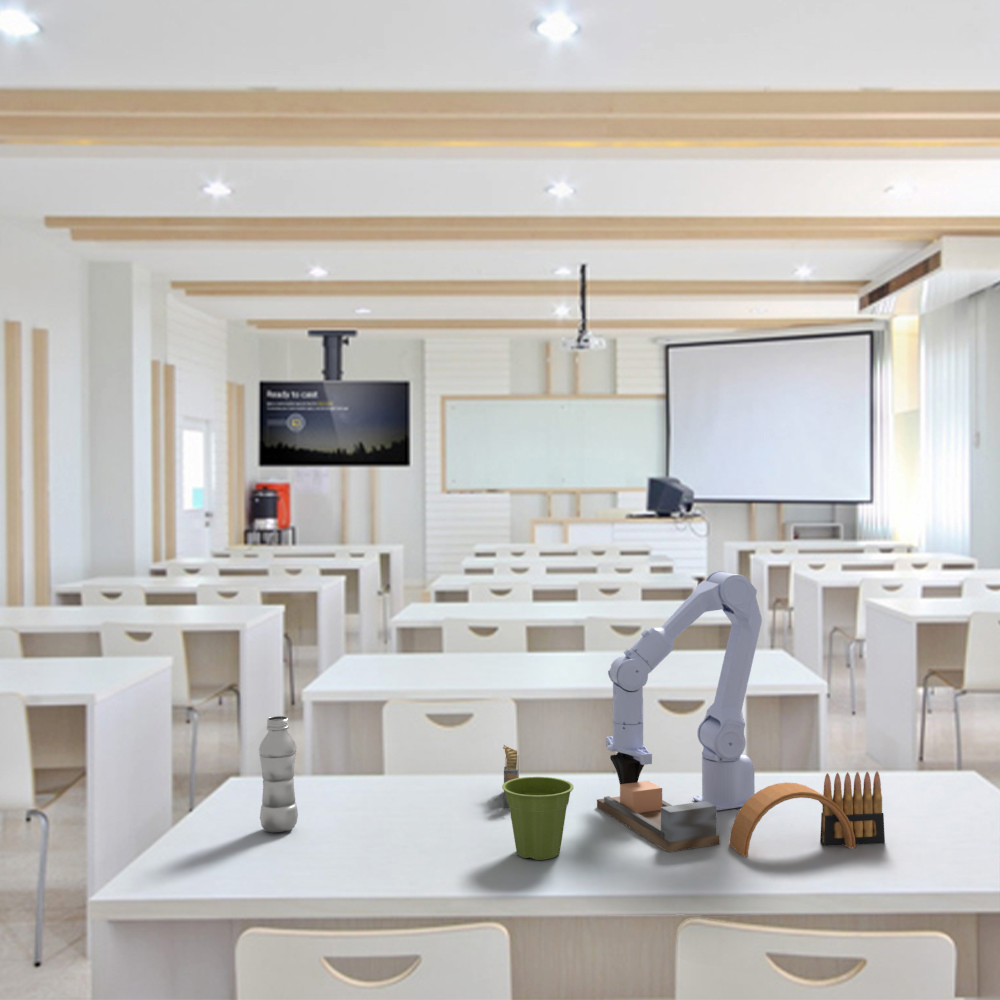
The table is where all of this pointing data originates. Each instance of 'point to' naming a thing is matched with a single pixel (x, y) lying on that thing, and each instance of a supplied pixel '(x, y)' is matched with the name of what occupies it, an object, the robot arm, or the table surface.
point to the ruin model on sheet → (510, 768)
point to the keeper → (641, 796)
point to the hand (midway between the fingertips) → (628, 793)
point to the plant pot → (538, 814)
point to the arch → (769, 799)
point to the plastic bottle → (278, 777)
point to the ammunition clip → (854, 811)
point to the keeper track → (652, 835)
